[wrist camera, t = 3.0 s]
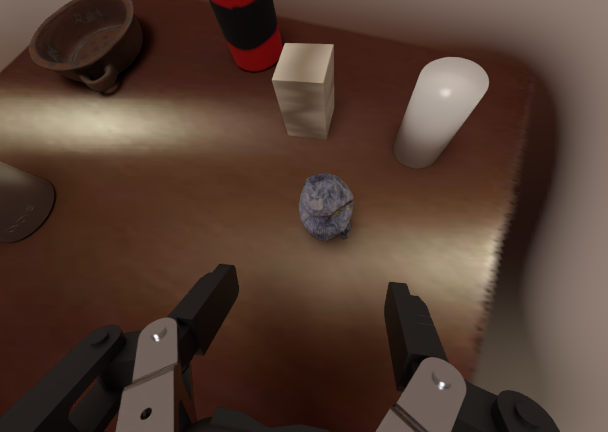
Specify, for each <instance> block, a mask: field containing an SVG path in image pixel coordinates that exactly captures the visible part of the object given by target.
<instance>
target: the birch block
mask: <svg viewBox="0 0 608 432" xmlns="http://www.w3.org/2000/svg"><path fill="white" fill-rule="evenodd" d="M272 82H273V86H274V89H275V92H276V96H277V99H278V102H279V106H280V109H281V113H282V116H283V119H284V123H285V126H286V129H287V133H288V135H292V136H301V137H310V138H319V139H327V135H328V131H329V127H330V123H331V119H332V114H333V110H334V45H333V44H298V43H285V45H284V47H283V50H282V53H281V56H280V59H279V61H278V64H277V67H276V70H275V73H274V75H273V78H272Z"/></svg>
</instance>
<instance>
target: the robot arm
mask: <svg viewBox="0 0 608 432" xmlns="http://www.w3.org/2000/svg"><path fill="white" fill-rule="evenodd" d="M53 202H54V189H53V187H52V185H51V184H50V183H49V182H48V181H46V180H44V179H42V178H39V177H37V176H34V175H32V174H29V173H27V172H24V171H22V170H19V169H17V168H15V167H12V166H10V165H7V164H5V163H3V162H0V242H5V243H8V242H14V241H18V240H20V239H22V238H24V237H26V236H28V235H29V234H31V233H32V232H34V231H35V230H36V229H37V228H38V227H39V226H40V225H41V224H42V223H43V221H44V220H45V219H46V217H47V216H48V214H49V212H50V210H51V208H52V206H53ZM238 293H239V285H238V279H237V273H236V268H235V266H234V265H226V264H219V265H218V266H217V267H216V269H215V270H214V271H213V272H212V273H210V272H209V273H208V274H206V275H205V276H203V277H202V278H200V279H199V280H198V282H197V283H196V284H195V285H194V287H192V289H191V290H190V291H189V293H188V294H187V295H186V296H185V297H184V298H183V299H182V300H181V302H180V303H179V304H178V305H177V306H176V307H175V309H174V310H173V311H172V312H171V313H170V315H169V316H168V317H167V318H162V319H158V320H156V321H154V322H152V323H151V324H149V325H148V326H147V327H145V328H144V330H142V331H135V332H129V333H123V332H122V331H121V329H120V327H119V326H117V325H108V326H105V327H102V328H99V329H97V330H95V331H94V332H92V333H90V334H89V335H88V336H87V337H85V338H84V339H83V340H82V341H81V342H80V343H79V344H78V345H77V346H76V347H75V348H74V349H73V350H72V351H70V352H69V353H68V354H67V355H66V356H65V357H64V358H63V359H62V360H61V361H60V362H59V363H58V364H57V365H56V366H55V367H53V368H52V369H51V370H50V371H49V372H48V373H47V374H46V375H45V376H44V377H43V378H42V379H41V380H40V381H39V382H38V383H37V384H35V385H34V386H33V387H32V388H31V389H30V390H29V391H28V392H27V393H26V394H25V395H24V396H23V397H22V398H21V399H20V400H19V401H17V402H16V403H15V404H14V405H13V406H12V407H11V408H10V409H9V410H8V411H7V412H6V413H5V414H4V415H3V416H2V417H1V418H0V432H104V430H105V429H106V427H107V426H108V425H109V423H110V422H111V420H112V419H113V417H114V416H115V414H116V413H117V412H118V410H119V409H120V410H119V416H118V422H117V428H116V432H329V430H325V429H320V428H316V427H311V426H306V425H301V424H298V425H289V426H281V427H273V428H269V427H266V426H264V425H263V424H261V423H260V422H258V421H256V420H255V419H253V418H251V417H250V416H248V415H247V414H245V413H243V412H240V411H235V410H230V409H226V408H221V407H217V408H216V410H215V412H214V415H213V416H212V417H208V418H204V419H201V420H199V421H198V420H197V415H196V410H195V404H194V392H193V378H192V365H191V360H192V358H193V356H194V355H195V354H196V355H201V356H204V355H205V353H206V351H207V349H208V348H209V346H210V344H211V342H212V341H213V339H214V337H215V335H216V334H217V332H218V330H219V328H220V327H221V325H222V323H223V321H224V320H225V318H226V316H227V314H228V313H229V311H230V309H231V308H232V306H233V304H234V302H235V301H236V299H237V296H238ZM384 316H385V323H386V329H387V334H388V340H389V346H390V352H391V358H392V364H393V370H394V376H395V381H396V387H397V391H402V392H403V394H402V395H401V397H400V398H399V400H398V402H397V403H396V404H395V405H393V406H392V407H391V408H390V410H389V411H388V413H387V414H386V416H385V417H384V419H383V421H382V422H381V424H380V426H379V427H378V429H377V430H376V432H560V431H559V429H558V427H557V426H556V424H555V422H554V421H553V419H552V418H551V417H550V416H549V414H548V413H547V412H546V411H545V410H544V409H543V408H542V407H541V406H540V405H539V404H537V403H536V402H535V401H533V400H532V399H530V398H529V397H527V396H525V395H523V394H521V393H519V392H515V391H510V390H506V391H502V392H501V393H500V394H499V395H498V396H497V395H495V394H492V393H490V392H488V391H486V390H484V389H481V388H479V387H477V386H475V385H473V384H471V383H469V382H468V381H466V380H465V379H463V377H462V376H461V374H460V373H459V372H458V371H457V369H456V368H454V367H453V366H452V365H451V364H450V363H449V362H448V360H447V357H446V355H445V352H444V349H443V347H442V344H441V342H440V339H439V336H438V334H437V331H436V329H435V326H434V324H433V321H432V318H431V317H430V313H429V311H428V308H427V306H426V304H425V303H424V302H423V301H422V300H421V299H420V298H419V296H413V295H410V292H409V289H408V286H407V284H406V283H396V282H389V285H388V290H387V295H386V300H385V307H384ZM95 378H96V379H97V381H98V382H97V383H96V384H95V385H94V387H93V388H92V389H91V390H90V391H89V393H88V394H87V395H86V396H85V397H84V398H83V400H82V401H81V402H80V403H79V404H78V406H77V407H76V408H75V409H74V410H73V411H72V413H71V414H70V415H69V411H70V409H71V407H72V406H73V404H74V403H75V401H76V400H77V399H78V398H79V397H80V396H81V395H82V393H83V392H84V391H85V390H86V389H87V388H88V386H89V385H90V384H91V383H92V382H93V381H94V380H95ZM68 415H69V416H68Z"/></svg>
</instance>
